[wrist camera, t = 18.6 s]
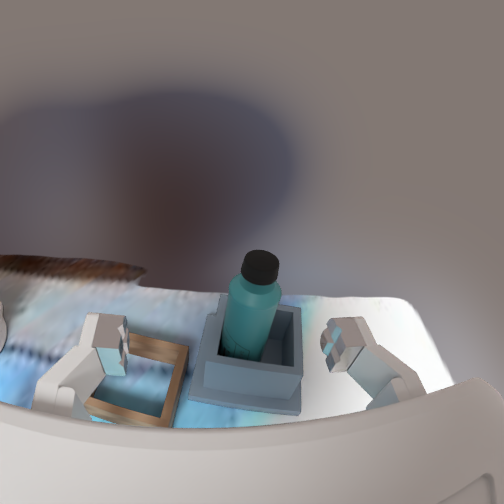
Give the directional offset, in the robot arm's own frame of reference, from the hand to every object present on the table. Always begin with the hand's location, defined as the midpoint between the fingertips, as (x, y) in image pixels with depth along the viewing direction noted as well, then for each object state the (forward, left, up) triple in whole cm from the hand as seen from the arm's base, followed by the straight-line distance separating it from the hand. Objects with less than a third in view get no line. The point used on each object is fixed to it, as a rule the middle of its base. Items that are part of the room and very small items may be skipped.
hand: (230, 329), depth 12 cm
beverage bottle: (+2, +19, -31) cm, 36 cm away
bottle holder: (+4, +20, -32) cm, 38 cm away
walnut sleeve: (-12, +12, -32) cm, 36 cm away
